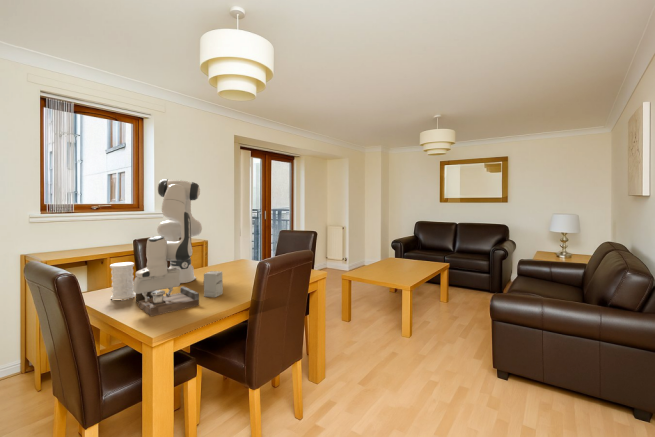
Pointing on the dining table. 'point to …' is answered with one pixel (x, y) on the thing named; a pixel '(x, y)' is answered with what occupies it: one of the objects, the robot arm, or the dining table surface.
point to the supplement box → (213, 284)
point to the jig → (171, 302)
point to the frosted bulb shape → (157, 296)
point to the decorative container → (122, 280)
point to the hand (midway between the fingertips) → (158, 299)
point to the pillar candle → (141, 297)
